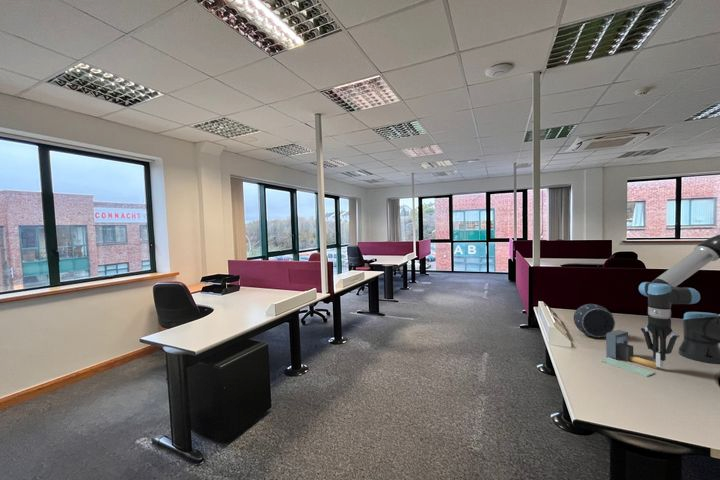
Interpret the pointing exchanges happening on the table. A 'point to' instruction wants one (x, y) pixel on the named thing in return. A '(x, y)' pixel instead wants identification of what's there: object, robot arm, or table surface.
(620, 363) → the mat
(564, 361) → the table surface
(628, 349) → the grey hammer
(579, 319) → the dark grey short cylinder
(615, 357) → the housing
